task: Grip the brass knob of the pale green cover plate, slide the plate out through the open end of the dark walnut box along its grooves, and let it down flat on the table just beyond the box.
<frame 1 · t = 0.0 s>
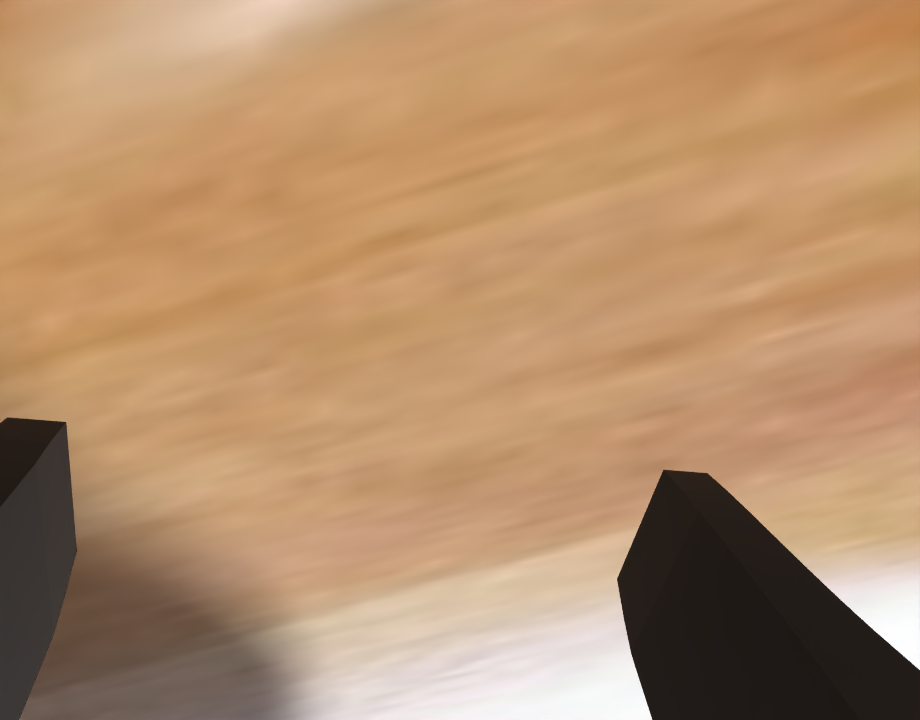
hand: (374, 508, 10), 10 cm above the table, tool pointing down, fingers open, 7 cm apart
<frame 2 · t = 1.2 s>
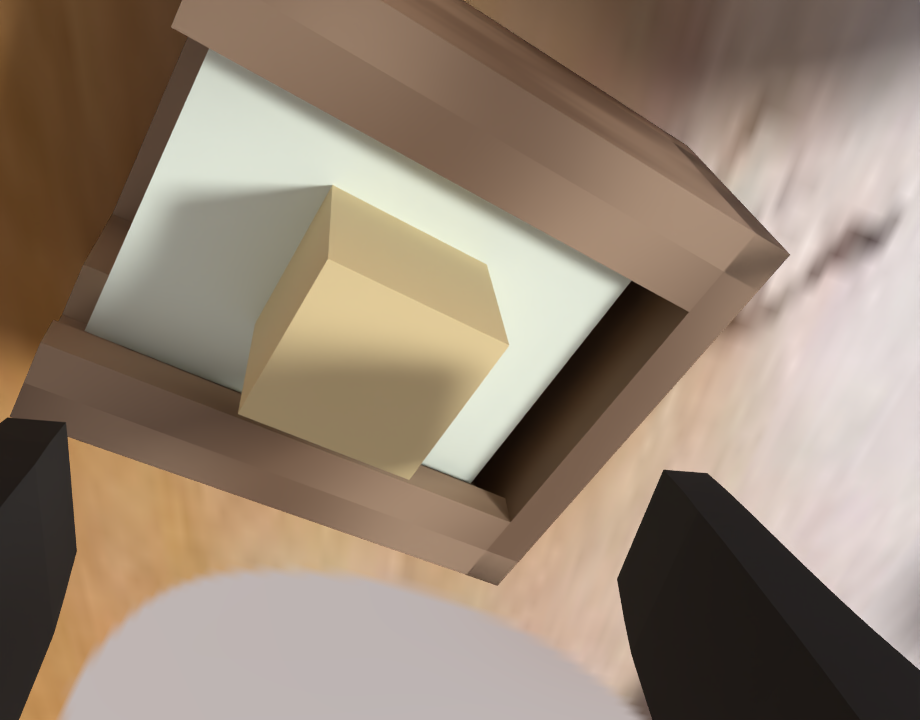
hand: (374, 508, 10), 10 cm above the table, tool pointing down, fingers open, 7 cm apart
cover plate: (369, 262, 16), point 3 cm above the table, touching walnut box
walnut box: (387, 209, 18), on the table
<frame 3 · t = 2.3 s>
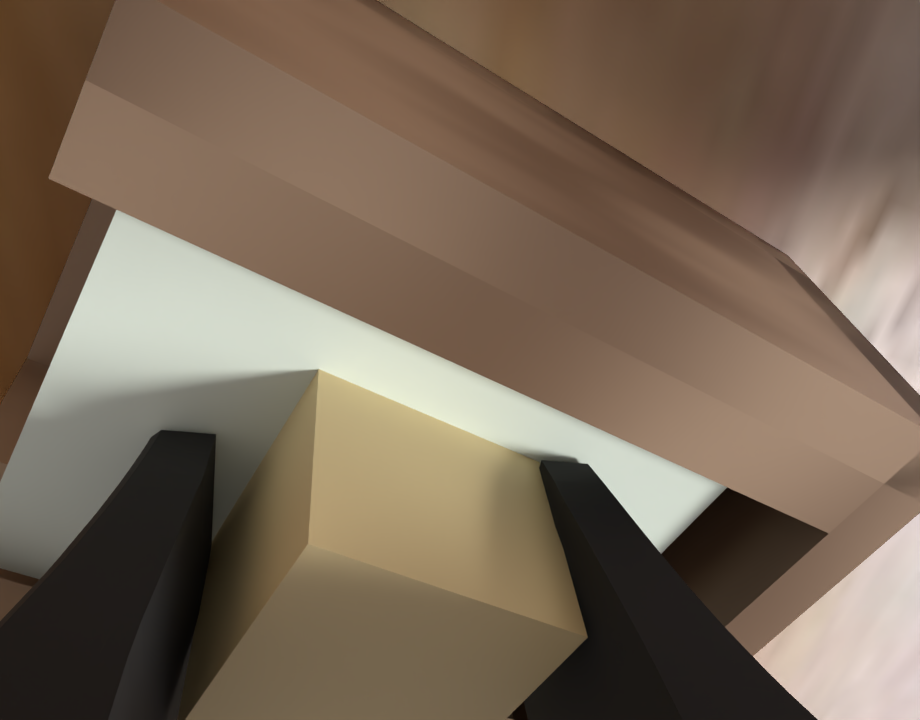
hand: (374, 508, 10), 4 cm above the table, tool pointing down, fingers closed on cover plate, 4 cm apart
cover plate: (371, 441, 11), point 3 cm above the table, touching gripper, walnut box
walnut box: (394, 337, 14), on the table
when the fingers open (4 cm above the table, at t = 3.8 s): cover plate stays where it is, resting on walnut box.
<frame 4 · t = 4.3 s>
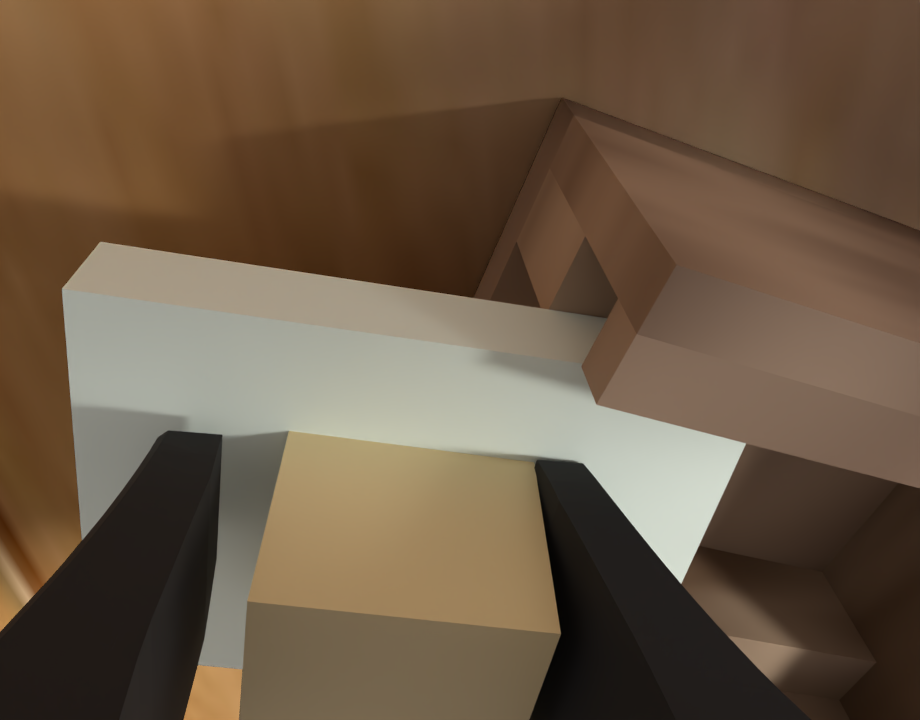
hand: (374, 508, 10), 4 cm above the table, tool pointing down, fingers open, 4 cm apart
cover plate: (399, 476, 12), point 3 cm above the table, touching gripper, walnut box
walnut box: (699, 412, 16), on the table
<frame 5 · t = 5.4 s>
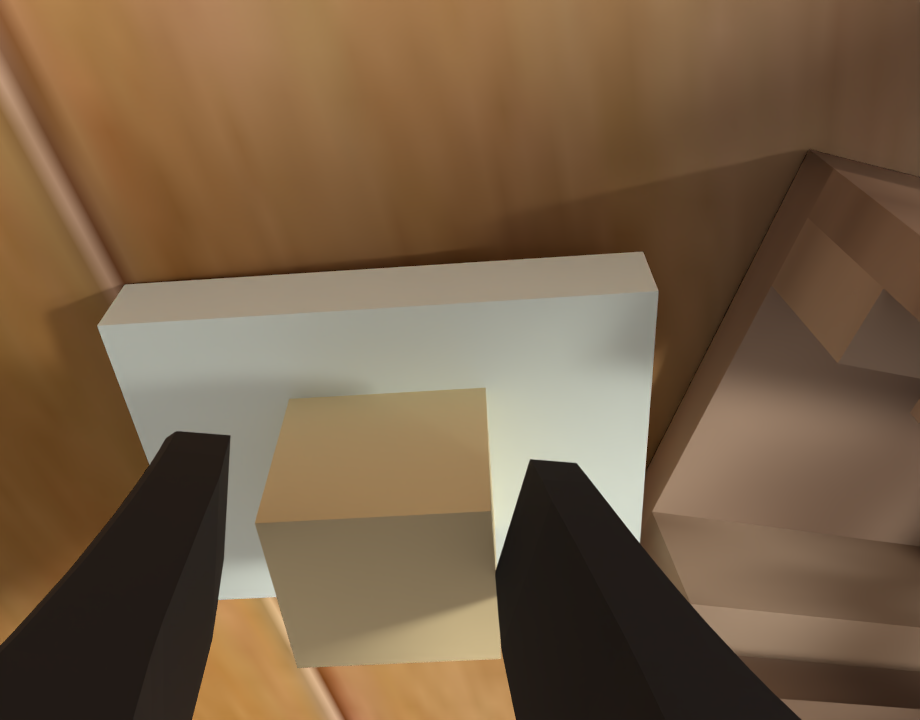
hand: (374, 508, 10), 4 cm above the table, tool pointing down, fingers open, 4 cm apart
cover plate: (402, 420, 14), on the table, tilted 6°, touching gripper
walnut box: (918, 421, 16), on the table
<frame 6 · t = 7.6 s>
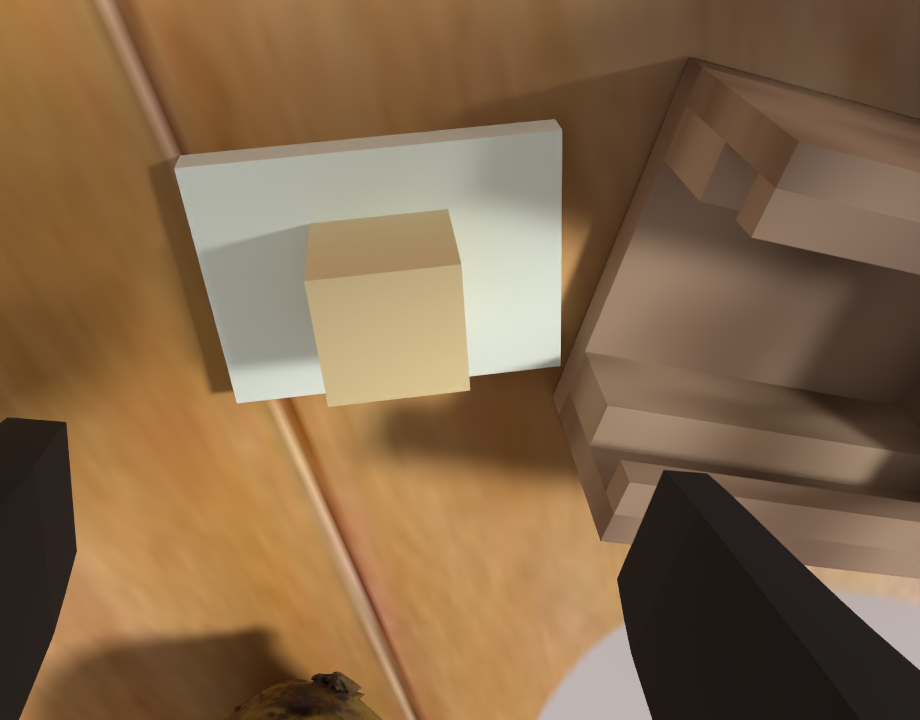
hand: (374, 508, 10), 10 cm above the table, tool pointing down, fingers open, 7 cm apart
potato: (328, 707, 29), on the table
cover plate: (385, 253, 20), on the table
walnut box: (795, 284, 21), on the table
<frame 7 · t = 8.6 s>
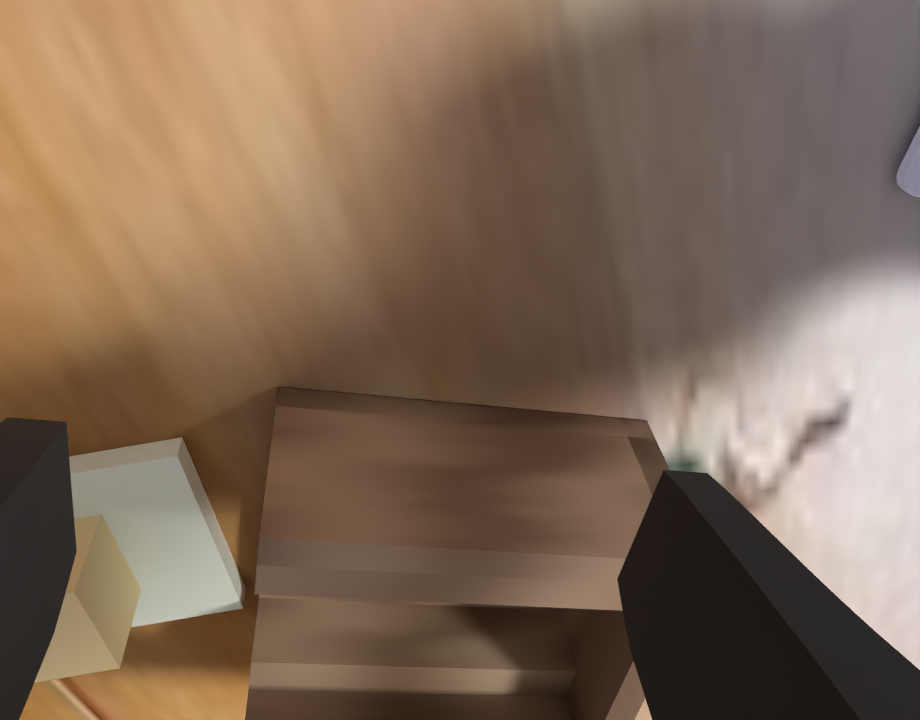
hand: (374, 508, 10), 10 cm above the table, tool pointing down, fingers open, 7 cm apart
cover plate: (79, 530, 24), on the table
walnut box: (440, 526, 24), on the table
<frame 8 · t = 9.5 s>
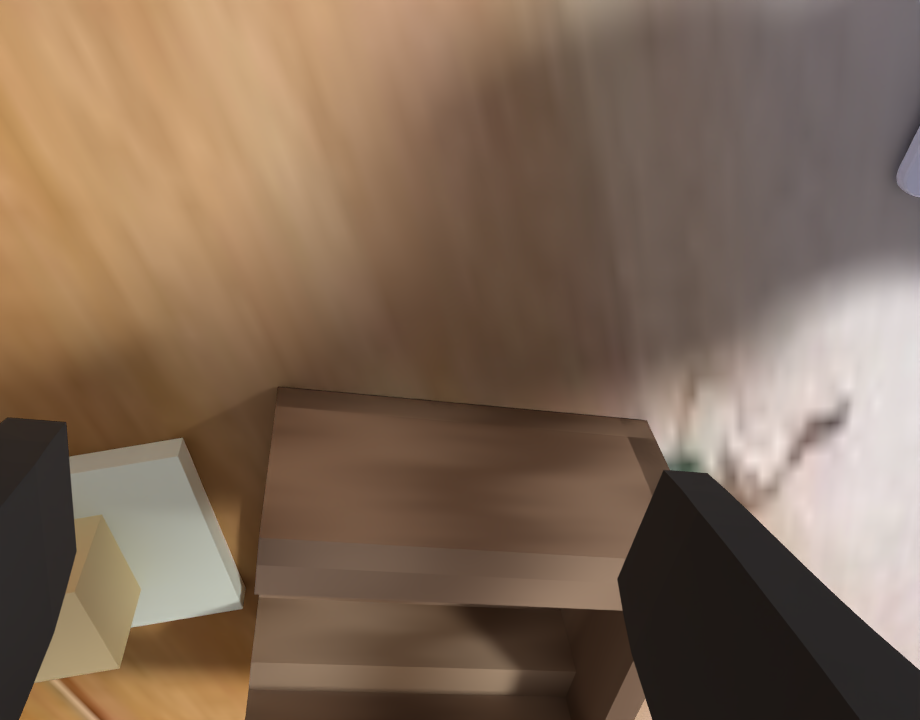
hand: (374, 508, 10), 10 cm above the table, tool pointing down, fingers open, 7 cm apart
cover plate: (79, 530, 24), on the table
walnut box: (440, 526, 24), on the table
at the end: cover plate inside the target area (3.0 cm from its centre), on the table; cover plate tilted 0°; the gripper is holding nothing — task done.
